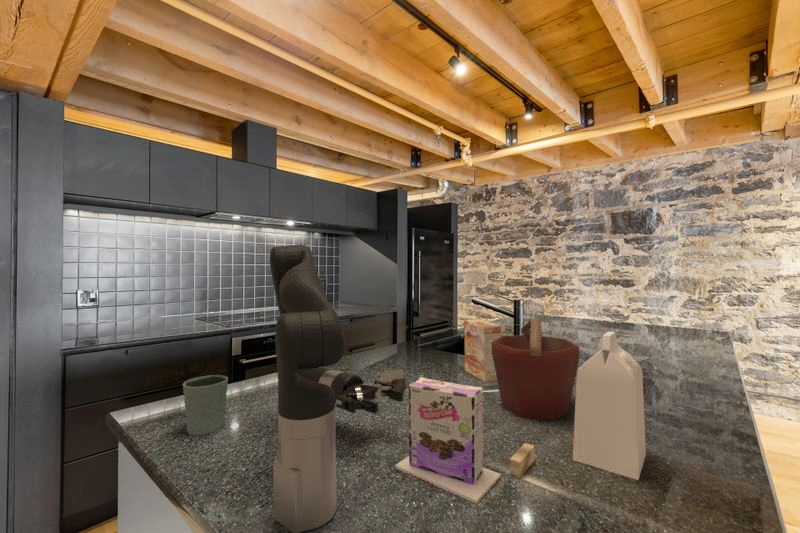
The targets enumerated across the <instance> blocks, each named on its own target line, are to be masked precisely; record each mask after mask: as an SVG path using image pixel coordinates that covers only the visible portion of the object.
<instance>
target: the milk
mask: <svg viewBox="0 0 800 533" xmlns="http://www.w3.org/2000/svg"><path fill="white" fill-rule="evenodd" d="M601 340H602V341H601V349H599V351H597V352H596V353H595V354H593V355H592V356H591V357H590V358H588V359H587V360H586V361H585V362H584V363H583V364H581V366H579V367H578V368H577V371H576V380H575V381H576V382H575V383H576V384H575V385H576V386H575V404H574V406H575V408H574V427H573V429H574V430H573V447H572V448H573V450H572V460H573V461H574V462H578V463H581V464H585V465H588V466H591V467H593V468H598V469H601V470H604V471H607V472H611V473H614V474H617V475H620V476H622V477H627V478H630V479H633V480H637V481H639V479H640V476H641V471H642V469H643V466H644V463H645V458H646V456H647V455H646V454H647V450H646V449H647V448H646V428H645V427H646V426H645V405H644V404H645V403H644V381H643V379H644V378H643V376H644V375H643V369H642V367H641V365H640V364H639V362H637V361H636V360H635V358H633V356H632V355H631V354H630V353H629V352H628V351H626V350H625V349H623V348H622V347H621V346H620V345H619V344H618V341H617V334H616V331H610V330H609V331H607V332H606V333H603V335H602V339H601Z"/></svg>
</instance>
